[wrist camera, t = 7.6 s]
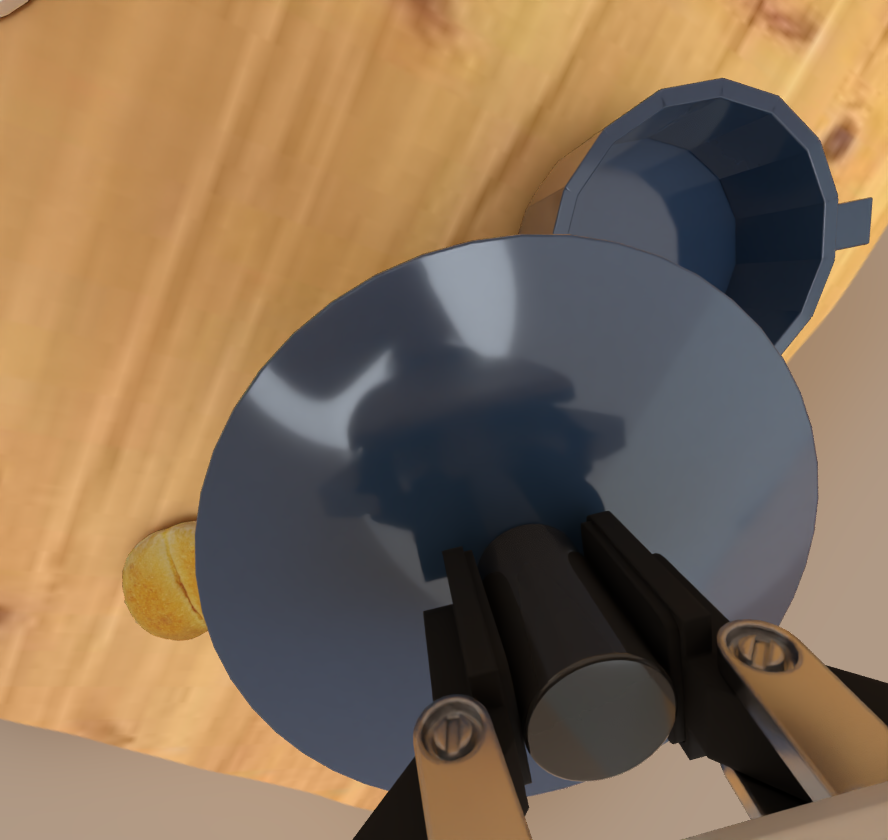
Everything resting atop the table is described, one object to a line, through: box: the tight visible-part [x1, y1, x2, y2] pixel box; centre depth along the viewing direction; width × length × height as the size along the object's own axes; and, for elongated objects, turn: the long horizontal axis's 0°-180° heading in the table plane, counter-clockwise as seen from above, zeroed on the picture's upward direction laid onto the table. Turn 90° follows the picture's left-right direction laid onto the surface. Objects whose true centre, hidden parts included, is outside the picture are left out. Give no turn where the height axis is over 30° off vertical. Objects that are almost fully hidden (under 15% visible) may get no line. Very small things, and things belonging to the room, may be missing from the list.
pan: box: [518, 78, 872, 355], centre depth 27 cm, size 16×21×7 cm
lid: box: [195, 234, 818, 797], centre depth 11 cm, size 17×17×6 cm
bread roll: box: [122, 521, 208, 641], centre depth 31 cm, size 8×9×4 cm
